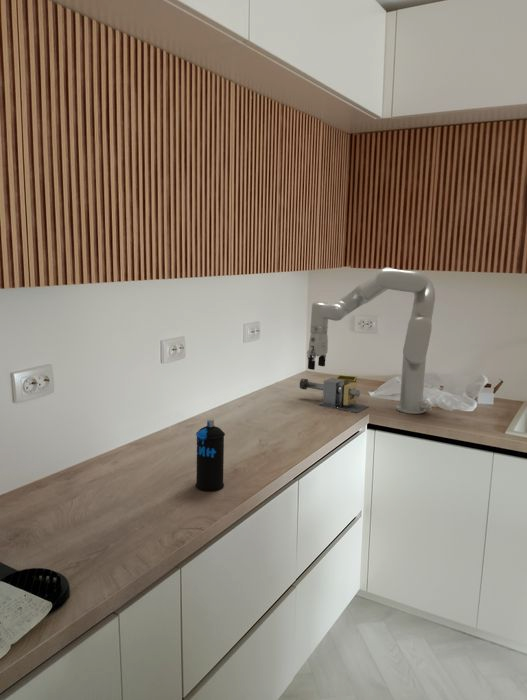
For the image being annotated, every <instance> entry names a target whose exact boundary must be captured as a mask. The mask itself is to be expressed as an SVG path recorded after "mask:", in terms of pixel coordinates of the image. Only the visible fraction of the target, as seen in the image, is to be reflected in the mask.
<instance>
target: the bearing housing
mask: <svg viewBox="0 0 527 700" xmlns="http://www.w3.org/2000/svg"><path fill="white" fill-rule="evenodd" d="M336 378H337V377H336ZM336 378H335V377H330V378H328V379H325V380H323V384H324V389H323V390H322V391H323V393H322V401H321V402H319V404H318V405H319V407H325V408H329V407H332V408H331V409H335V408H337V407H340V393H338V387H341V385H343V384H344V380H343V379H336Z"/></svg>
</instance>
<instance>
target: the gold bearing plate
mask: <svg viewBox="0 0 527 700" xmlns="http://www.w3.org/2000/svg"><path fill="white" fill-rule="evenodd" d="M357 383H358V382H356V383H354V382H352V383H350V384H347V385H345V386H344V402H343V405H347V406H348V405H350V404H352V403H354V404H355V402H357V396H352V395H350V390H352V389H355V390H357V388H358V387H357V386H358V384H357Z"/></svg>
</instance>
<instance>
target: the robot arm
mask: <svg viewBox="0 0 527 700" xmlns="http://www.w3.org/2000/svg"><path fill="white" fill-rule="evenodd" d="M387 290H392V291H398V292H399V291H400V292H407V293H413V296H414V299H413V303H412V310H411V313H410V318H409V320H408V322H407V323H408V324H407V330H406V335H405V341H404V345H403V348H402V364H401V365H402V366H401V367H402V368H401V380H400V381H401V382H400V394H399V395H400V397H399V404H397V405H395V409H396V411H398V412H400V413H404V414H411V415H413V414H414V415H416V414H417V415H418V414H424V413H425V412H426V411H427V410H429V411H432V409H433V406H432V405H431V404H428V403H427V404H426V403H425V400H424V399H423V398H424V386H425V377H426V376H425V375H426V374H425V373H426V361H427V353H428V348H429V345H430V344H429V343H430V338H431V334H432V330H433V328H432V327H433V325H432V320H433V314H434V308H435V301H436V289H435V287H434V284H433V282H432V281H431V279H430V278H429V277H428V276H427V275H425V273H423V272H422V271H419V270H413V271H410V270H403V269H402V270H401V269H395V268H393V267H390V266H389V267H387V266H385V267H382V268H381V269H379V271H377V272H376V273H375V274H372V276H370V277H368V278H367V279H365V280H363V282H361V283H359V284H358V285H356V286H355V288H354V289H353V290H352V291H350V292H349V293H348V294H346V295H345V296H343V297H342V298H341V299H339V300H337V301H336V302H334V303H328V302H325V301H314V302H313V303H312V304H311V313H310V314H311V318H310V329H309V331H310V334H309V335H310V336H309V342H308V350H307V352H306V354H307V355H306V356H307V369H308V370H313V371H315V369H316V357H318V362H317V363H318V364H317V366H320V367H323V368H324V367H326V357H327V354H328V347H329V346H328V345H329V343H328V342H329V340H328V338H329V336H328V328H329V327H328V326H329V320H331V321H333V322H334V321H335V322H338V321H341V320H342V319H344V318H345V317H346V316H347V315H349V314H350V313H352V312H354V311H355V310H357V309H358V308H360V307H361V306H363V305H366V304H368V303H369V302H372V301H373V300H374V299H376V298H377V297H378V296H381V295H382V294H383V293H384V292H387Z"/></svg>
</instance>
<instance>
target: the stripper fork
mask: <svg viewBox="0 0 527 700" xmlns="http://www.w3.org/2000/svg"><path fill="white" fill-rule="evenodd" d="M350 383H351V382H348V384H350ZM343 402H344V384H343V385H341V394H340V408H342V407H344V406H346V405H343Z"/></svg>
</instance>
